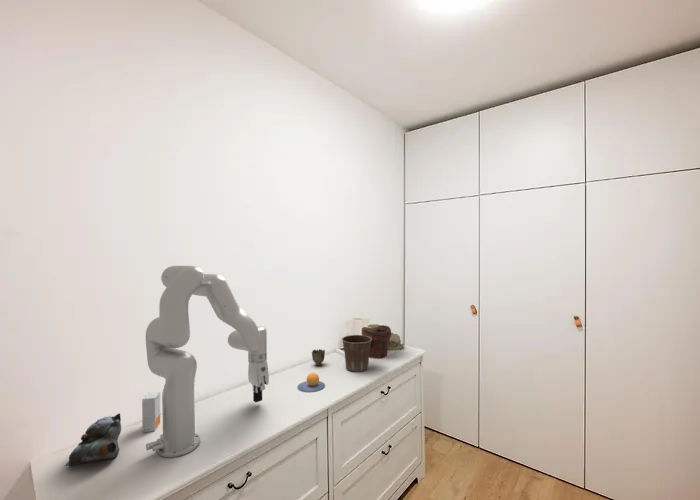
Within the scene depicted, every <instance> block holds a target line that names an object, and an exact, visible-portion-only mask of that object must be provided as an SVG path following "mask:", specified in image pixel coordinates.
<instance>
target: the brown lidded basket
mask: <svg viewBox="0 0 700 500" xmlns="http://www.w3.org/2000/svg"><path fill="white" fill-rule="evenodd" d="M391 330H392V329H391V327H390V326H387V325H385V324H384V325H383V324H382V325H380V326H376V327H370V328H369V327H362V328H361V334H360V335H364V336H368V337H370V338H372V341H371V346H370V351H369V359H384V358H386V357H387V356H388V351H389V350H388V346H389V341H390V337H391V333H392V331H391Z"/></svg>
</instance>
